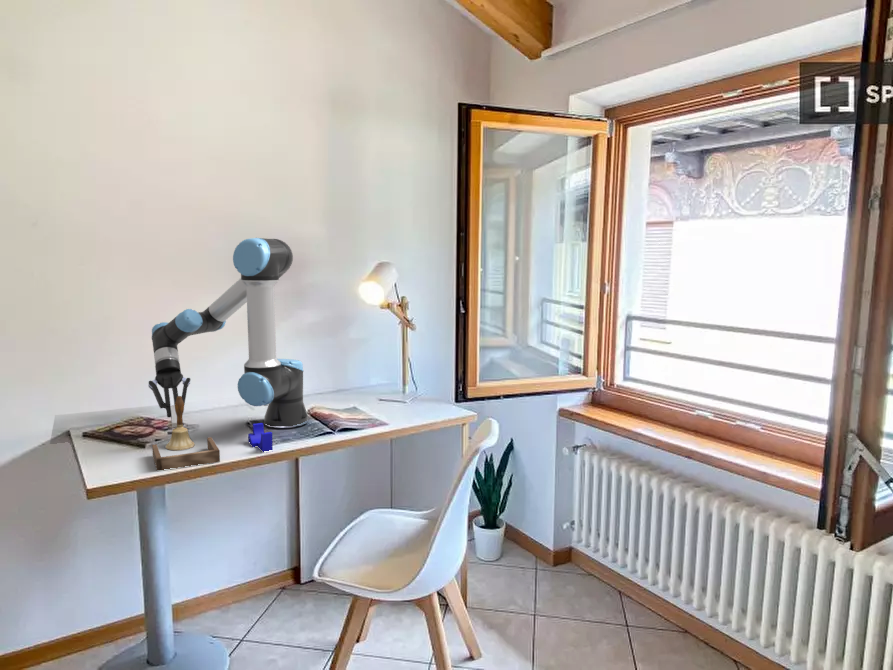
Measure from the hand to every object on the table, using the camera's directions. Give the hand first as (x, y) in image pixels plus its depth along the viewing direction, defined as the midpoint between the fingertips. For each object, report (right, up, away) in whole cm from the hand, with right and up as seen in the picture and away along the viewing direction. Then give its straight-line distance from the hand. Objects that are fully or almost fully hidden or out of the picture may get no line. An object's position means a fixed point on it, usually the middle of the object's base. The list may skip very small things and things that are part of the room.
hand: (175, 425), depth 187 cm
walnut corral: (+10, -8, -15) cm, 20 cm away
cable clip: (+28, -7, -3) cm, 29 cm away
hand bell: (+4, -6, -5) cm, 9 cm away
